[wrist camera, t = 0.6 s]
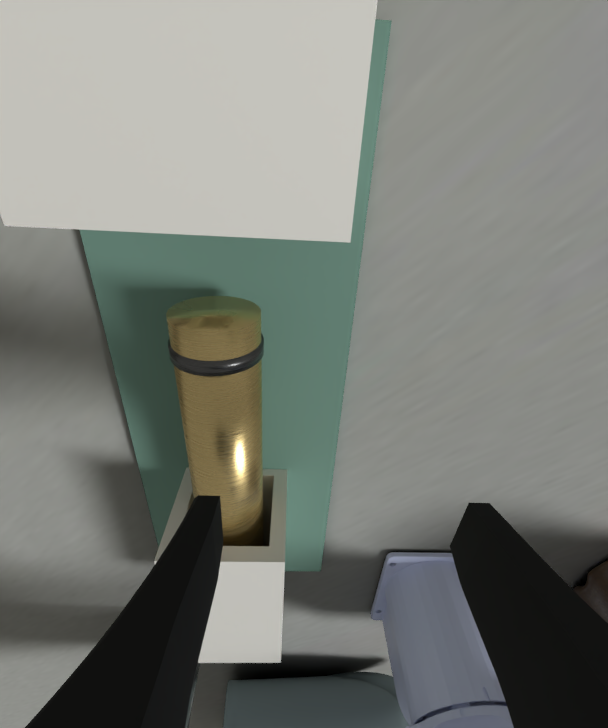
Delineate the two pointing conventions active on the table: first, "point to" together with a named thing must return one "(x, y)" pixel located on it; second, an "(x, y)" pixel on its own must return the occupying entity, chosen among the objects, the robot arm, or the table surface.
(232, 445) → the tube
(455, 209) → the table surface
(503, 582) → the robot arm
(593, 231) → the table surface
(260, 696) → the pencil case
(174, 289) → the mat
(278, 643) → the sleeve
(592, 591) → the plant pot
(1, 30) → the socket
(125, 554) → the table surface
